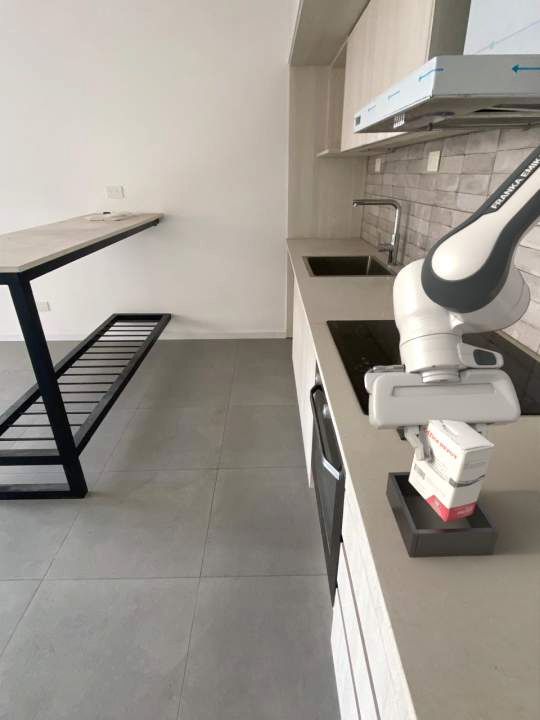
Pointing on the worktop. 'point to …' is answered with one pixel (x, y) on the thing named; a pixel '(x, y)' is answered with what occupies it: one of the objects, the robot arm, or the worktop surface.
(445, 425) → the ink box
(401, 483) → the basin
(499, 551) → the worktop surface
